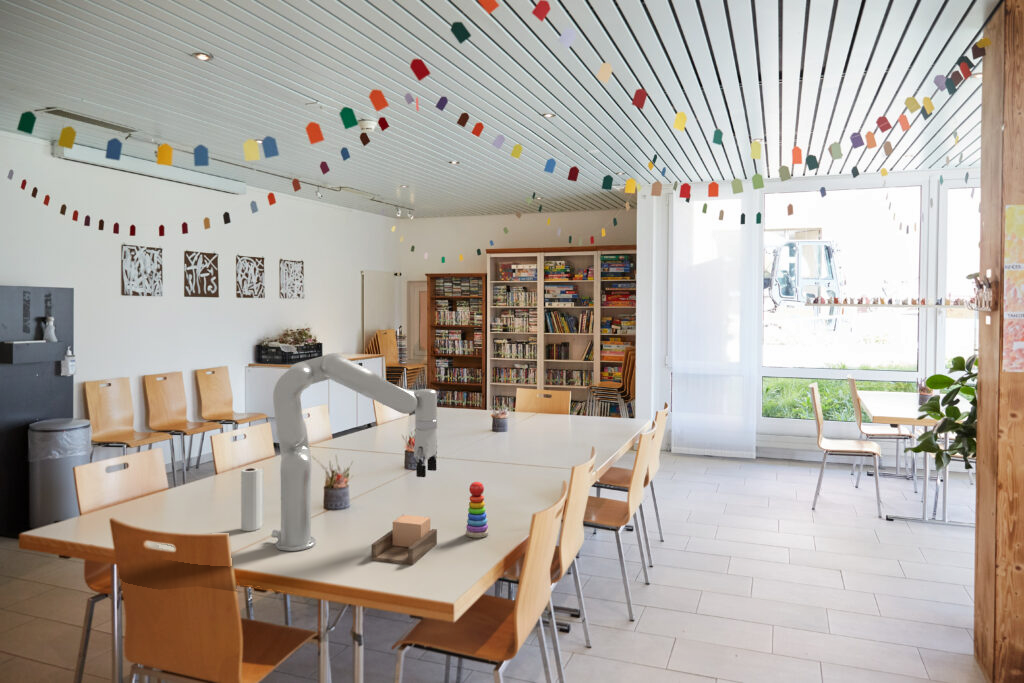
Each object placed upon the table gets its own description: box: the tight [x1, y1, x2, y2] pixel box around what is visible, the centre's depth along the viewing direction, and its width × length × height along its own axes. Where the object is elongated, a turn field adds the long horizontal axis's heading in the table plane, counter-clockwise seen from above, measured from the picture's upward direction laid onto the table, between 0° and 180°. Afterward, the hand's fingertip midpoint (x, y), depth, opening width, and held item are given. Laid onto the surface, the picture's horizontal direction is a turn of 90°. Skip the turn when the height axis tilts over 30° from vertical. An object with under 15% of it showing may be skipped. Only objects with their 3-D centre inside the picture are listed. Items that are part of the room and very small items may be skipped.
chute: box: [370, 528, 438, 566], centre depth 221 cm, size 14×20×5 cm
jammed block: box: [392, 514, 431, 547], centre depth 225 cm, size 10×8×8 cm
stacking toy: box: [465, 481, 489, 539], centre depth 238 cm, size 8×8×19 cm
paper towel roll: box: [240, 467, 265, 532], centre depth 241 cm, size 7×6×21 cm
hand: (426, 473), depth 237 cm, fingers open, 9 cm apart
